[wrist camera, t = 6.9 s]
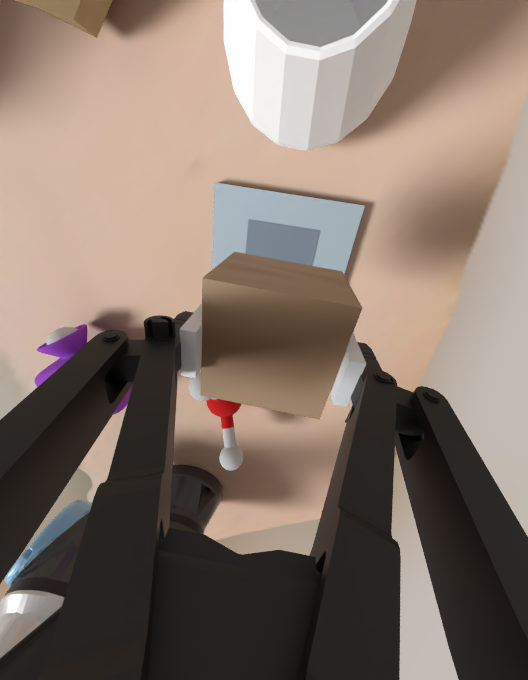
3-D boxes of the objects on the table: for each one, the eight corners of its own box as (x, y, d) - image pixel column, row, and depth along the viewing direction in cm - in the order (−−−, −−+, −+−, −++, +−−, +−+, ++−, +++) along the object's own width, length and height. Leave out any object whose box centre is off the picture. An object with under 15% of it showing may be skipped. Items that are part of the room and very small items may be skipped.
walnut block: (314, 359, 19) (319, 419, 14) (226, 342, 20) (200, 395, 14) (341, 271, 16) (362, 307, 11) (234, 251, 16) (202, 278, 11)
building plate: (328, 320, 34) (329, 324, 33) (213, 301, 34) (210, 305, 33) (362, 205, 27) (365, 205, 26) (217, 182, 27) (213, 182, 26)
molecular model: (255, 422, 45) (245, 475, 37) (226, 424, 46) (210, 476, 38) (231, 340, 37) (212, 383, 28) (196, 344, 38) (168, 387, 29)
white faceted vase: (319, -130, 17) (378, -884, 5) (423, 55, 21) (597, -137, 9) (206, 72, 23) (109, -66, 11) (303, 189, 27) (312, 182, 15)
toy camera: (97, 302, 36) (36, 335, 28) (161, 369, 41) (127, 414, 33) (57, 334, 40) (-8, 372, 32) (121, 391, 45) (80, 437, 37)
